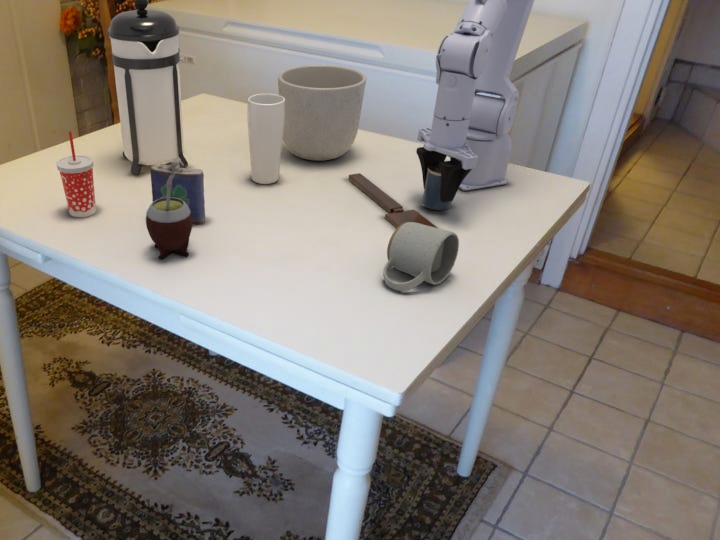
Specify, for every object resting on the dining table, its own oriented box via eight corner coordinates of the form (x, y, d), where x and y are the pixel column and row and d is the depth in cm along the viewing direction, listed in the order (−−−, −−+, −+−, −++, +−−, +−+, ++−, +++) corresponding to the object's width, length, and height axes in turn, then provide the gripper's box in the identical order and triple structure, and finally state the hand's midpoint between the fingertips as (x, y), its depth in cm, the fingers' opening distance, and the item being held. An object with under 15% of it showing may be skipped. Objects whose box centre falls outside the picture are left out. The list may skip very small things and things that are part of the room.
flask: (207, 219, 116) (204, 158, 110) (202, 226, 114) (198, 164, 108) (156, 213, 118) (151, 153, 112) (150, 220, 116) (144, 159, 110)
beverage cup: (66, 204, 121) (53, 126, 113) (101, 203, 122) (90, 124, 113) (62, 220, 116) (48, 138, 108) (99, 218, 117) (87, 137, 108)
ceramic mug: (407, 255, 106) (414, 209, 101) (455, 273, 101) (464, 226, 96) (368, 282, 100) (373, 234, 95) (416, 302, 95) (424, 253, 90)
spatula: (366, 176, 130) (367, 171, 130) (440, 234, 111) (441, 228, 111) (340, 180, 129) (340, 175, 128) (410, 239, 110) (411, 234, 109)
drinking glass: (279, 188, 127) (282, 105, 117) (244, 185, 128) (244, 103, 119) (285, 174, 132) (288, 94, 123) (251, 171, 133) (251, 92, 124)
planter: (261, 158, 138) (261, 80, 129) (300, 134, 150) (303, 60, 140) (337, 175, 131) (343, 93, 122) (371, 148, 143) (380, 71, 133)
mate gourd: (166, 237, 111) (159, 146, 102) (206, 248, 108) (203, 156, 99) (138, 256, 106) (128, 163, 97) (180, 269, 103) (173, 173, 94)
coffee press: (209, 156, 139) (203, -8, 121) (161, 183, 129) (147, 7, 111) (143, 141, 147) (128, -16, 129) (93, 165, 136) (69, -3, 118)
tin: (440, 196, 121) (447, 160, 117) (456, 207, 118) (463, 171, 114) (416, 200, 120) (422, 164, 116) (431, 211, 116) (438, 175, 112)
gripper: (406, 104, 114) (396, 182, 122) (456, 132, 103) (441, 215, 111) (443, 100, 116) (430, 176, 124) (495, 127, 105) (477, 208, 113)
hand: (437, 194), depth 118 cm, fingers closed on tin, 5 cm apart
